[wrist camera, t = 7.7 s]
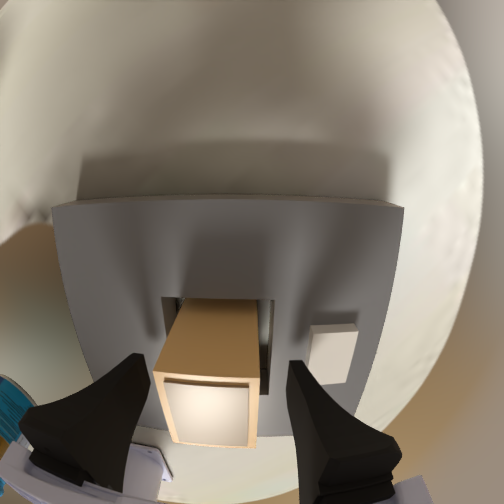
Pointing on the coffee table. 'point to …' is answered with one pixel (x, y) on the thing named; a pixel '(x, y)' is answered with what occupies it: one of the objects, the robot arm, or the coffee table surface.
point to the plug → (211, 373)
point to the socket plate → (233, 282)
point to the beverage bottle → (12, 416)
